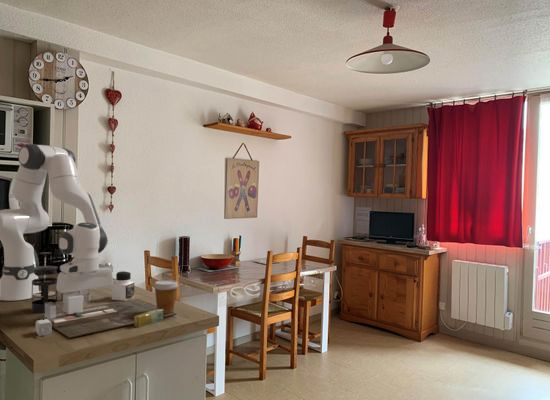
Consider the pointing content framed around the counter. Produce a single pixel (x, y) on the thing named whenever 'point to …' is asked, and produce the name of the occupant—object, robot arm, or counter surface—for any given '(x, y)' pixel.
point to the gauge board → (83, 316)
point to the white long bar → (51, 312)
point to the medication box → (148, 317)
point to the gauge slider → (73, 304)
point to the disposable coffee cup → (165, 294)
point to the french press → (44, 287)
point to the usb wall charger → (43, 327)
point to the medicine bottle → (123, 287)
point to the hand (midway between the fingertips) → (85, 301)
